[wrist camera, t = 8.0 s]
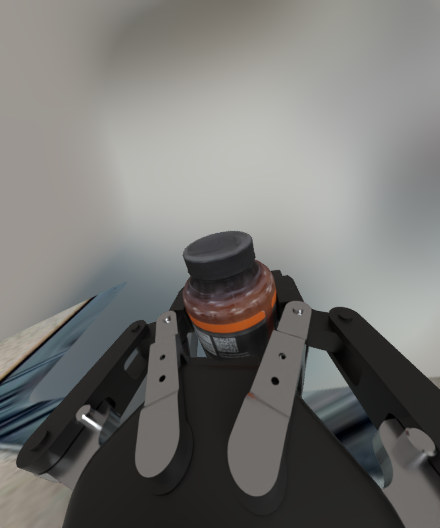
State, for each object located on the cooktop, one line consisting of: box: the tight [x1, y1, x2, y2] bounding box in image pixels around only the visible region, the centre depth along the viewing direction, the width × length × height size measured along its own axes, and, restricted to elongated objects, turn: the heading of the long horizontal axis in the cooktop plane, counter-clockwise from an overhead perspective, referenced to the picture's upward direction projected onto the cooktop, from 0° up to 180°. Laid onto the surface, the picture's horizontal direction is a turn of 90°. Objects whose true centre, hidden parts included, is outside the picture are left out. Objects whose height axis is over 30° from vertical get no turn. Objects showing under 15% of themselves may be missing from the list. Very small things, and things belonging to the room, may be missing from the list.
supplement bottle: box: [183, 231, 279, 363], centre depth 11 cm, size 6×6×11 cm
